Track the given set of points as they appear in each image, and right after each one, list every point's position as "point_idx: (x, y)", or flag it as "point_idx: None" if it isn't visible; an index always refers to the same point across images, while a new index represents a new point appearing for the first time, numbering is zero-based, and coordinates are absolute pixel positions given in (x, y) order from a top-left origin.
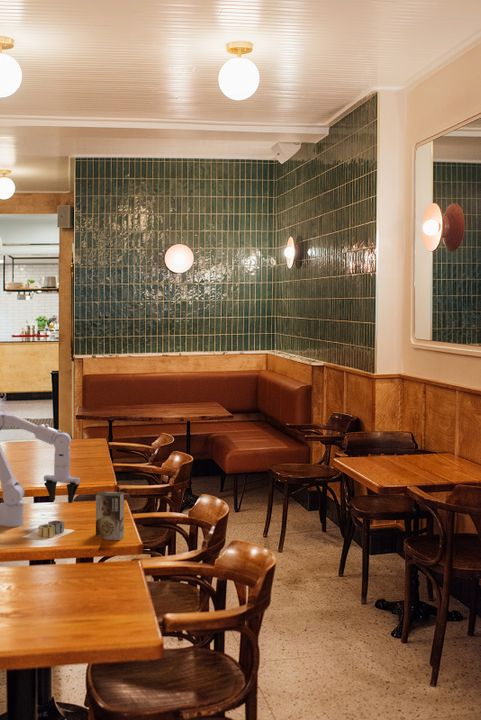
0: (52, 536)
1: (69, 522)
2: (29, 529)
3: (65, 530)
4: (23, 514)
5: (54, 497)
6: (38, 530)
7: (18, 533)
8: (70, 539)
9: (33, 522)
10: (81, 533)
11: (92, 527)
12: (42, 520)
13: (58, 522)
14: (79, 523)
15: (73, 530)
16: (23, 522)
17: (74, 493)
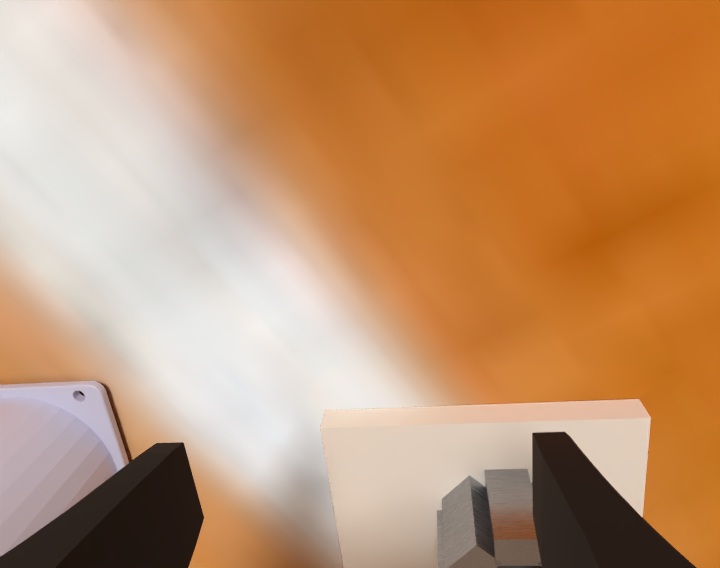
0: None
1: (307, 40)
2: (189, 449)
3: None
4: (36, 517)
5: (164, 488)
6: (345, 544)
7: (214, 562)
8: (694, 554)
9: (17, 243)
10: (695, 369)
11: (698, 102)
12: (11, 128)
13: (518, 557)
14: (443, 14)
15: (636, 431)
16: (78, 452)
17: (665, 562)
